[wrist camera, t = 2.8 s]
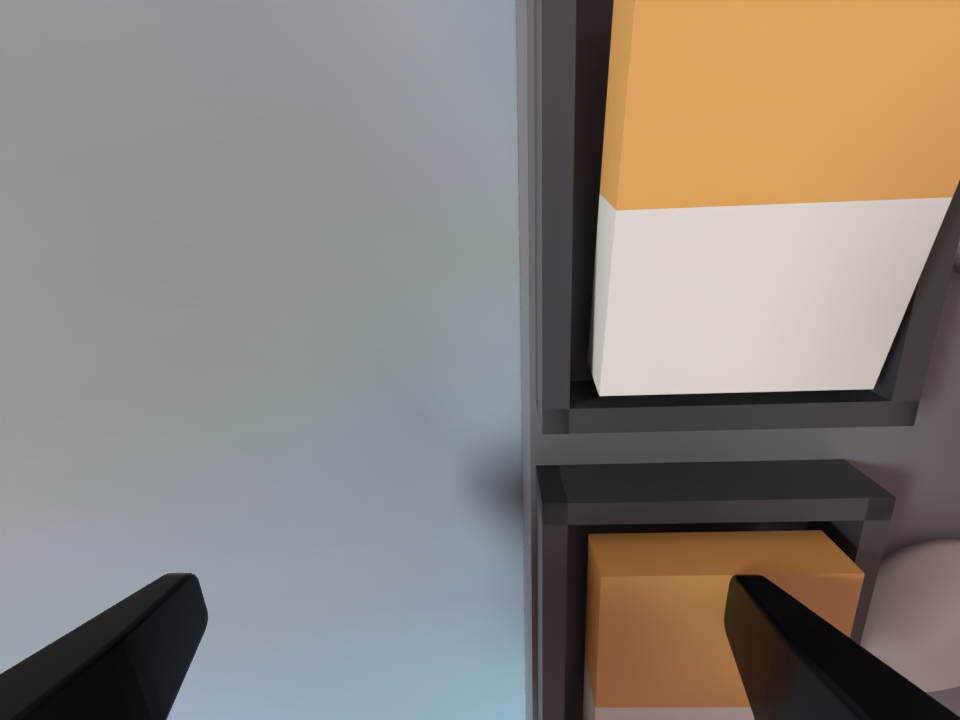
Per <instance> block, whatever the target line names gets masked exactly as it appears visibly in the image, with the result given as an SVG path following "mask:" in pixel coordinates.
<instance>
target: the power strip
mask: <svg viewBox="0 0 960 720" xmlns="http://www.w3.org/2000/svg"><path fill="white" fill-rule="evenodd" d="M613 5H614V0H516V43H517V113H518V184H519V254H520V325H521V395H522V466H523V536H524V607H525V678H526V720H583V694H584V663H585V631H586V600H587V568H588V537H589V534H612V533H677V532H741V531H806V530H822V531H823V532H824V533H825V534H826V535H827V536H828V537H829V538H830V539H831V540H832V541H833V542H834V543H835V544H836V545H837V546H838V547H839V548H840V549H841V550H842V551H843V552H844V553H845V554H846V555H847V556H848V557H849V558H850V559H851V560H852V561H853V562H854V563H855V564H856V565H857V566H858V567H859V568H860V569H861V570H862V571H863V572H864V573H865V575H864V579H863V584H862V588H861V592H860V596H859V601H858V605H857V609H856V614H855V618H854V622H853V626H852V631H851V635H850V638H851V639H852V640H854V641H855V642H856V643H858V644H859V645H861V646H862V647H863V648H865V649H866V650H867V651H869V652H870V653H872V654H873V655H874V656H876V657H877V658H879V659H880V660H881V661H883V662H884V663H886V664H887V665H888V666H890V667H891V668H893V669H894V670H895V671H897V672H898V673H899V674H901V675H902V676H904V677H905V678H906V679H908V680H909V681H911V682H912V683H913V684H915V685H916V686H918V687H919V688H920V689H922V690H923V691H924V692H926V693H927V694H929V695H930V696H931V697H933V698H934V699H936V700H937V701H938V702H940V703H941V704H943V705H944V706H945V707H947V708H948V709H950V710H951V711H952V712H954V713H955V714H956V715H958V716H959V717H960V180H959V183H958V185H957V188H956V190H955V192H954V195H953V197H952V200H951V202H950V205H949V207H948V209H947V212H946V214H945V217H944V219H943V222H942V224H941V226H940V229H939V231H938V234H937V236H936V238H935V241H934V243H933V246H932V248H931V251H930V253H929V255H928V258H927V260H926V263H925V265H924V268H923V270H922V272H921V275H920V277H919V280H918V282H917V284H916V287H915V289H914V292H913V294H912V297H911V299H910V301H909V304H908V306H907V309H906V311H905V314H904V316H903V318H902V321H901V323H900V326H899V328H898V330H897V333H896V335H895V338H894V340H893V343H892V345H891V347H890V350H889V352H888V355H887V357H886V360H885V362H884V364H883V367H882V369H881V372H880V374H879V376H878V379H877V381H876V384H875V386H874V389H858V390H819V391H780V392H741V393H702V394H663V395H624V396H599V394H598V391H597V388H596V385H595V382H594V379H593V376H592V373H591V370H590V368H589V365H588V362H587V360H588V346H589V333H590V319H591V305H592V292H593V278H594V264H595V251H596V237H597V223H598V210H599V196H600V182H601V169H602V155H603V141H604V128H605V114H606V100H607V87H608V73H609V59H610V46H611V32H612V18H613Z"/></svg>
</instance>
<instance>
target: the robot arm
mask: <svg viewBox="0 0 960 720" xmlns="http://www.w3.org/2000/svg"><path fill="white" fill-rule="evenodd" d="M207 621H208V612H207V608H206V604H205V601H204V597H203V594H202V590H201V587H200V583H199V580H198V578H197V577H196V576H195V575H194V574H192V573H169V574H166V575H164V576H162V577H160V578H158V579H157V580H155V581H153V582H152V583H150V584H148V585H147V586H145V587H144V588H142V589H140V590H139V591H137V592H135V593H134V594H132V595H130V596H129V597H127V598H125V599H124V600H122V601H120V602H119V603H117V604H115V605H114V606H112V607H111V608H109V609H107V610H106V611H104V612H102V613H101V614H99V615H97V616H96V617H94V618H92V619H91V620H89V621H87V622H86V623H84V624H82V625H81V626H79V627H77V628H76V629H74V630H73V631H71V632H69V633H68V634H66V635H64V636H63V637H61V638H59V639H58V640H56V641H54V642H53V643H51V644H49V645H48V646H46V647H44V648H43V649H41V650H39V651H38V652H36V653H35V654H33V655H31V656H30V657H28V658H26V659H25V660H23V661H21V662H20V663H18V664H16V665H15V666H13V667H11V668H10V669H8V670H6V671H5V672H3V673H2V674H0V720H166V719H167V717H168V715H169V713H170V710H171V708H172V706H173V703H174V701H175V699H176V696H177V694H178V692H179V690H180V687H181V685H182V683H183V680H184V678H185V676H186V673H187V671H188V669H189V667H190V664H191V662H192V660H193V657H194V655H195V653H196V650H197V648H198V646H199V643H200V641H201V639H202V637H203V634H204V632H205V629H206V626H207ZM724 627H725V632H726V635H727V638H728V641H729V644H730V647H731V650H732V653H733V656H734V659H735V662H736V665H737V668H738V671H739V674H740V677H741V680H742V683H743V686H744V689H745V692H746V695H747V698H748V701H749V704H750V707H751V710H752V713H753V716H754V719H755V720H960V717H959V716H958V715H956V714H955V713H954V712H952V711H951V710H950V709H948V708H947V707H945V706H944V705H943V704H941V703H940V702H938V701H937V700H936V699H934V698H933V697H931V696H930V695H929V694H927V693H926V692H924V691H923V690H922V689H920V688H919V687H918V686H916V685H915V684H913V683H912V682H911V681H909V680H908V679H906V678H905V677H904V676H902V675H901V674H899V673H898V672H897V671H895V670H894V669H893V668H891V667H890V666H888V665H887V664H886V663H884V662H883V661H881V660H880V659H879V658H877V657H876V656H874V655H873V654H872V653H870V652H869V651H867V650H866V649H865V648H863V647H862V646H861V645H859V644H858V643H856V642H855V641H854V640H852V639H851V638H849V637H848V636H847V635H845V634H844V633H842V632H841V631H840V630H838V629H837V628H835V627H834V626H833V625H831V624H830V623H829V622H827V621H826V620H824V619H823V618H822V617H820V616H819V615H817V614H816V613H815V612H813V611H812V610H810V609H809V608H808V607H806V606H805V605H803V604H802V603H801V602H799V601H798V600H797V599H795V598H794V597H792V596H791V595H790V594H788V593H787V592H785V591H784V590H783V589H781V588H780V587H778V586H777V585H776V584H774V583H773V582H771V581H770V580H769V579H767V578H766V577H764V576H762V575H757V574H737V575H734V576H732V578H731V579H730V582H729V588H728V594H727V600H726V606H725V613H724Z"/></svg>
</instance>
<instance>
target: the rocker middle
mask: <svg viewBox="0 0 960 720" xmlns="http://www.w3.org/2000/svg"><path fill="white" fill-rule="evenodd" d="M737 574H757V575H762V576H764V577H766V578H767V579H769V580H770V581H771V582H773V583H774V584H776V585H777V586H778V587H780V588H781V589H783V590H784V591H785V592H787V593H788V594H790V595H791V596H792V597H794V598H795V599H797V600H798V601H799V602H801V603H802V604H803V605H805V606H806V607H808V608H809V609H810V610H812V611H813V612H815V613H816V614H817V615H819V616H820V617H822V618H823V619H824V620H826V621H827V622H829V623H830V624H831V625H833V626H834V627H835V628H837V629H838V630H840V631H841V632H842V633H844V634H845V635H847V636H848V637H849V638H850V635H851V631H852V626H853V622H854V618H855V614H856V609H857V605H858V601H859V596H860V592H861V588H862V584H863V579H864V575H865V573H864V572H863V571H862V570H861V569H860V568H859V567H858V566H857V565H856V564H855V563H854V562H853V561H852V560H851V559H850V558H849V557H848V556H847V555H846V554H845V553H844V552H843V551H842V550H841V549H840V548H839V547H838V546H837V545H836V544H835V543H834V542H833V541H832V540H831V539H830V538H829V537H828V536H827V535H826V534H825V533H824V532H823V531H822V530H806V531H741V532H677V533H612V534H589V537H588V568H587V600H586V631H585V663H584V694H583V720H755V719H754V716H753V713H752V710H751V707H750V704H749V701H748V698H747V695H746V692H745V689H744V686H743V683H742V680H741V677H740V674H739V671H738V668H737V665H736V662H735V659H734V656H733V653H732V650H731V647H730V644H729V641H728V638H727V635H726V632H725V627H724V613H725V606H726V600H727V594H728V588H729V582H730V579H731V578H732V576H734V575H737Z"/></svg>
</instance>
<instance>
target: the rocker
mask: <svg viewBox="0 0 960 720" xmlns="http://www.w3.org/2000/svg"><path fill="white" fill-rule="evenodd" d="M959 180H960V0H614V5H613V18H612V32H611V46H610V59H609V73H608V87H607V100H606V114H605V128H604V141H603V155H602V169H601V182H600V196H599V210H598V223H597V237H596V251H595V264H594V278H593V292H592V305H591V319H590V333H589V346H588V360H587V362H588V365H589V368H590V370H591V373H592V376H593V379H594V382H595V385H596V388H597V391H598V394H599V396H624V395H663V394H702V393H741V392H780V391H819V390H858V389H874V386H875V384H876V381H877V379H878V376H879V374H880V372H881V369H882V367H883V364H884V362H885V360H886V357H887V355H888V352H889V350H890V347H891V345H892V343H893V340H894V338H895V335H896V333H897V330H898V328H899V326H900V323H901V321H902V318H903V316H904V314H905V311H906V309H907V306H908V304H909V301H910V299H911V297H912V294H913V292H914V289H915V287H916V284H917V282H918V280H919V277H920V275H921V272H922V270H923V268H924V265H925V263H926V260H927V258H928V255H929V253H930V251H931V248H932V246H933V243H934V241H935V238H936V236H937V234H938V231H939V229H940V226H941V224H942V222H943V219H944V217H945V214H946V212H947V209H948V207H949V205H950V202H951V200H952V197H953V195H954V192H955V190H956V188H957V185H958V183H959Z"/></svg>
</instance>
